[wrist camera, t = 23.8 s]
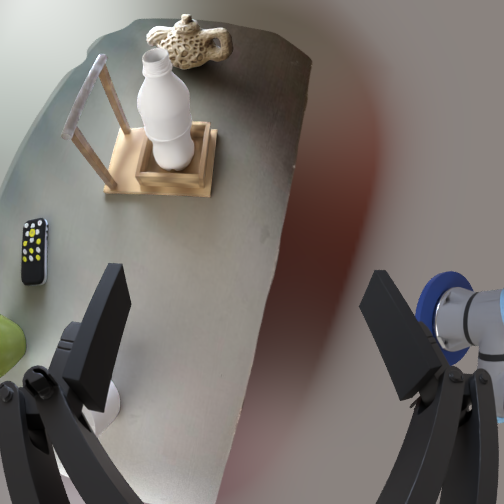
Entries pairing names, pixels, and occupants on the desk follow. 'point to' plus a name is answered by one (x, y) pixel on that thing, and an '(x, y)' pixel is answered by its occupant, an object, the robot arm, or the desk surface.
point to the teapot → (191, 43)
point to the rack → (141, 150)
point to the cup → (103, 420)
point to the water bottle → (165, 111)
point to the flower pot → (10, 344)
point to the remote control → (34, 252)
